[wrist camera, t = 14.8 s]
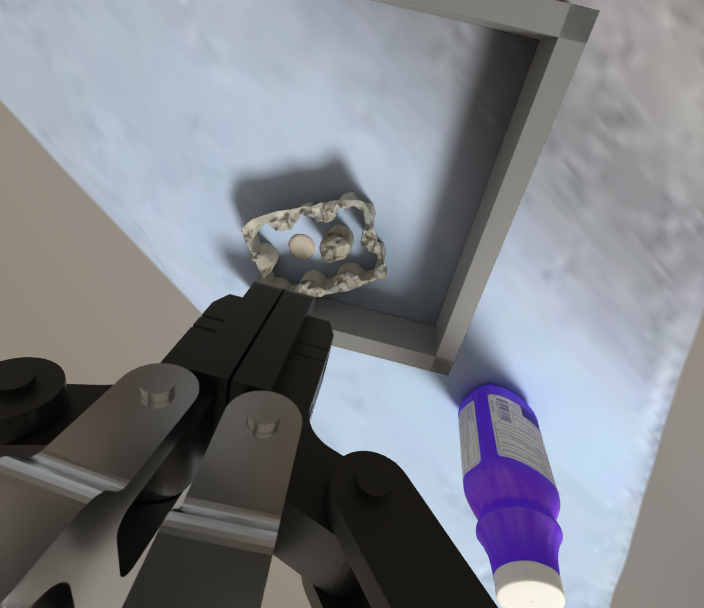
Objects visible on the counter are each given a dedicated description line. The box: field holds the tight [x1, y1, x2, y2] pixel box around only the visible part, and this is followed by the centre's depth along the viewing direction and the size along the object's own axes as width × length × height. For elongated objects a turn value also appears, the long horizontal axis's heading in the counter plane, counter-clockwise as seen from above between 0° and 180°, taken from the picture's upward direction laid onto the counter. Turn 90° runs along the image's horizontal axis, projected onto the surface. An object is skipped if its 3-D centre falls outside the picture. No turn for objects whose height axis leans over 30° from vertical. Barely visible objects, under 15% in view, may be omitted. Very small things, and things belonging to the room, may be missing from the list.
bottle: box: [458, 384, 565, 608], centre depth 34 cm, size 7×6×17 cm
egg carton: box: [242, 192, 388, 297], centre depth 35 cm, size 11×8×4 cm
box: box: [312, 0, 599, 376], centre depth 31 cm, size 25×18×4 cm
